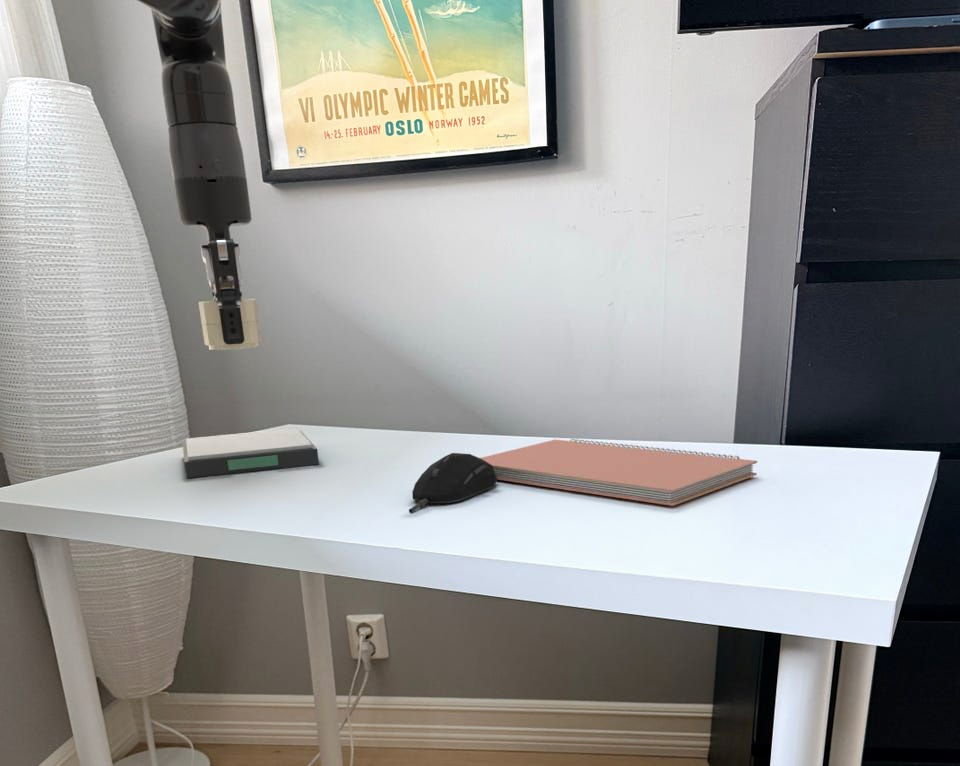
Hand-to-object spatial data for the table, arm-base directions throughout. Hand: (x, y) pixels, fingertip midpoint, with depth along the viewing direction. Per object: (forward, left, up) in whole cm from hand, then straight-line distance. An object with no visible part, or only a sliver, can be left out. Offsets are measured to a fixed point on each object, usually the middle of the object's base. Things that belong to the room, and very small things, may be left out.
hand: (233, 341), depth 104 cm
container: (0, 0, -1) cm, 1 cm away
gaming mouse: (+18, -21, -16) cm, 32 cm away
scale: (+1, +12, -16) cm, 20 cm away
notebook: (+37, -20, -16) cm, 45 cm away
